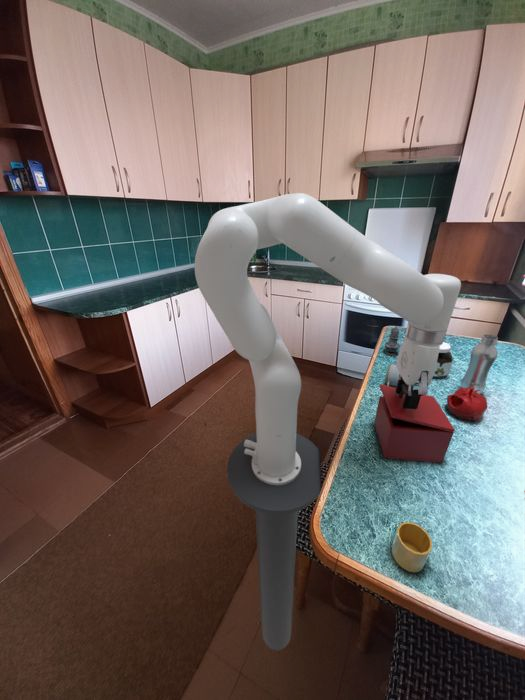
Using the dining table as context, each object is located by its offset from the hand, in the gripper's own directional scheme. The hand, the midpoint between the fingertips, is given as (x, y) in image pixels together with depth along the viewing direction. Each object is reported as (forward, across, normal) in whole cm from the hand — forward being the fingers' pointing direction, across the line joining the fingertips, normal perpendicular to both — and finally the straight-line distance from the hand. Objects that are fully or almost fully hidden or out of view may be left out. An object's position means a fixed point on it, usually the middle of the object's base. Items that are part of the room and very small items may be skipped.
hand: (405, 399), depth 71 cm
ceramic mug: (+13, -26, +8) cm, 30 cm away
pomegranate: (+13, -14, +24) cm, 30 cm away
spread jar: (+13, -38, +24) cm, 47 cm away
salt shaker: (+13, -52, +12) cm, 55 cm away
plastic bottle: (+13, -26, +31) cm, 42 cm away
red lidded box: (+14, 0, +3) cm, 14 cm away
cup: (+14, +29, -5) cm, 32 cm away
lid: (+2, 0, +2) cm, 3 cm away
